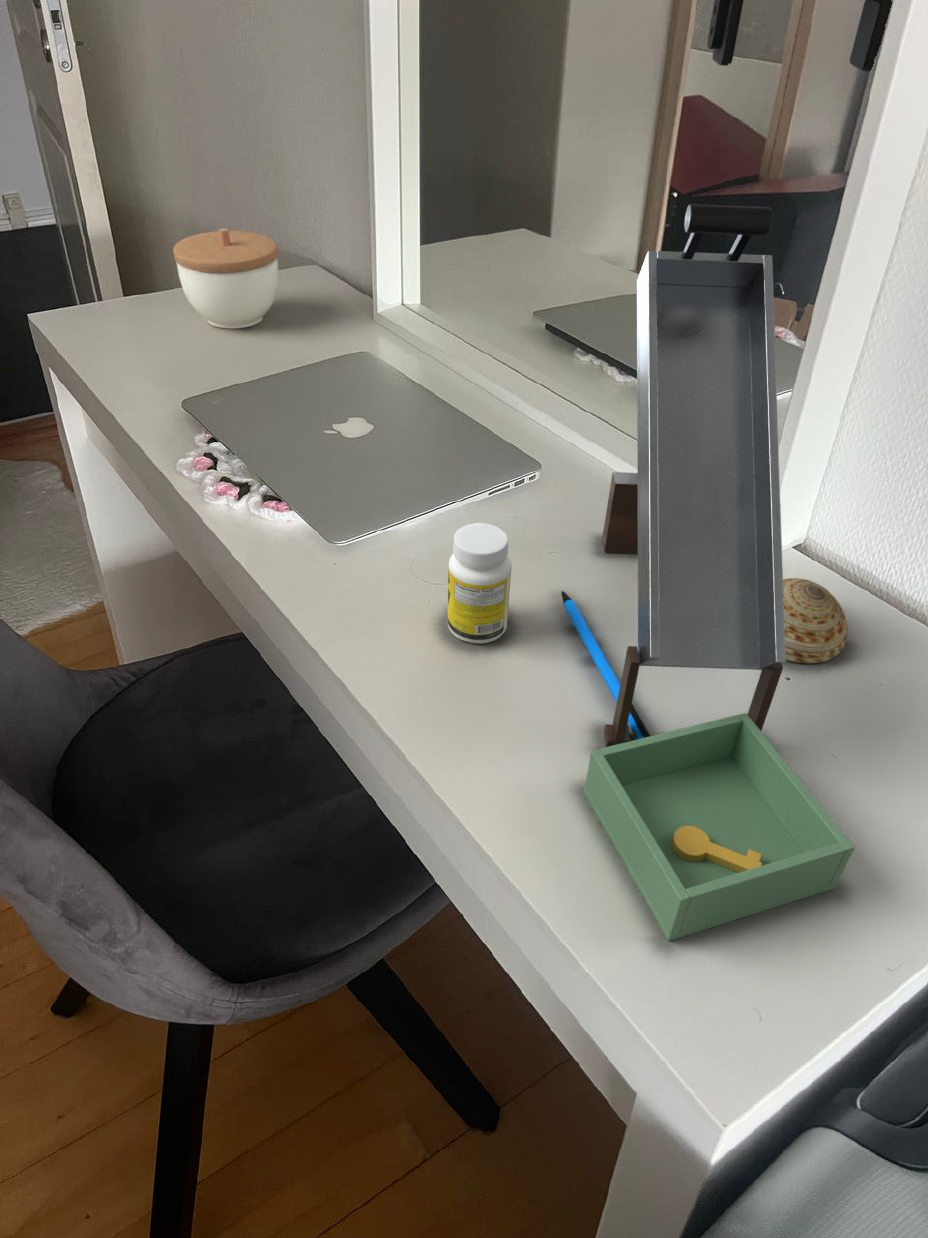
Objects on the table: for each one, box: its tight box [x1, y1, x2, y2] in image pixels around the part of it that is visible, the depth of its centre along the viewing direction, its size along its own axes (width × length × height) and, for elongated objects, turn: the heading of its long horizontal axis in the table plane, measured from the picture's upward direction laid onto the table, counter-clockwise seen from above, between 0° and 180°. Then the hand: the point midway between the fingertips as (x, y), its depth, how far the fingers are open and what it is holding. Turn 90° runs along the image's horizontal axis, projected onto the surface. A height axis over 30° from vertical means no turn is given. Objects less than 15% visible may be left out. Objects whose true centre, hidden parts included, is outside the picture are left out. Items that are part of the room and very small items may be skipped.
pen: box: [560, 590, 651, 740], centre depth 67 cm, size 1×19×1 cm, turn 15°
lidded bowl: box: [172, 227, 280, 330], centre depth 115 cm, size 13×13×11 cm
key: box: [672, 826, 763, 873], centre depth 55 cm, size 5×2×1 cm, turn 63°
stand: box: [601, 471, 784, 748], centre depth 69 cm, size 25×11×8 cm, turn 179°
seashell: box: [783, 577, 848, 664], centre depth 72 cm, size 8×6×8 cm
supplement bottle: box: [447, 522, 512, 645], centre depth 69 cm, size 5×5×8 cm
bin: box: [583, 712, 855, 942], centre depth 55 cm, size 11×11×4 cm
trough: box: [636, 203, 787, 671], centre depth 57 cm, size 28×8×8 cm
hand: (790, 65), depth 63 cm, fingers open, 9 cm apart
